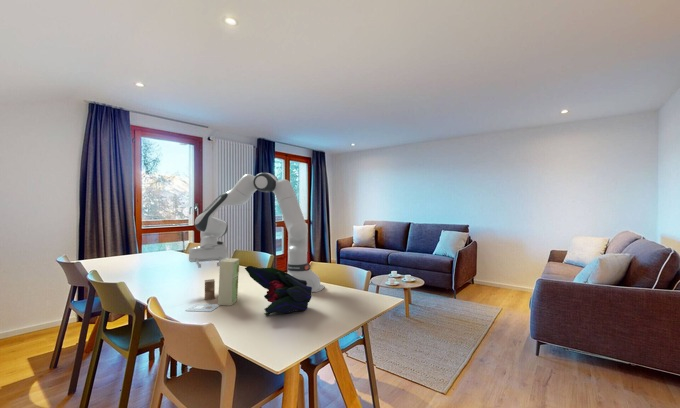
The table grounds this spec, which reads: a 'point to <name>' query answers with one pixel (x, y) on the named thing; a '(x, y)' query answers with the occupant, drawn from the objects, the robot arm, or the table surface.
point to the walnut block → (209, 289)
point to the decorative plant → (281, 290)
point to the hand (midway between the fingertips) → (209, 266)
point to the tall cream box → (228, 281)
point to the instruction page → (203, 307)
